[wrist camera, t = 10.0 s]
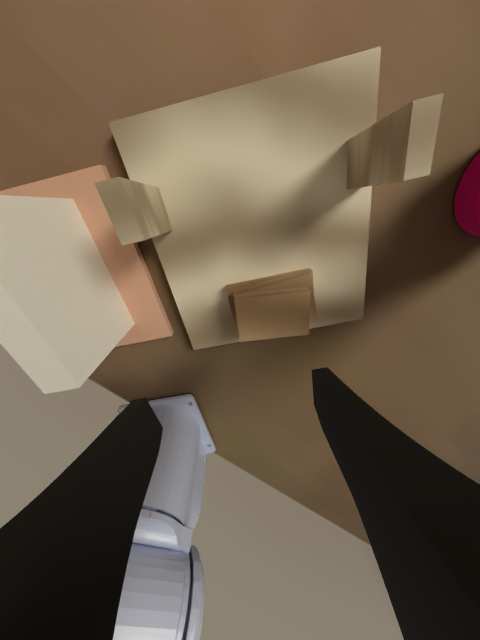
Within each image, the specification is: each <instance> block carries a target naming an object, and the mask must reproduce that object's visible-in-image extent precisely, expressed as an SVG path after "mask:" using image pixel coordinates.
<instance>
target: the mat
mask: <svg viewBox="0 0 480 640" xmlns="http://www.w3.org/2000/svg"><path fill="white" fill-rule="evenodd" d="M108 179H111V178H110V175H109V173H108V170H107V168H106V166H103V165H97V166H94V167H90V168H86V169H82V170H78V171H75V172H71V173H67V174H63V175H60V176H56V177H52V178H48V179H44V180H41V181H37V182H33V183H29V184H25V185H22V186H18V187H14V188H10V189H7V190H3V191H0V195H10V196H29V197H48V198H67V199H73V200H74V202H75V204H76V206H77V208H78V210H79V212H80V214H81V216H82V218H83V220H84V222H85V224H86V226H87V228H88V230H89V232H90V234H91V236H92V238H93V240H94V242H95V244H96V246H97V248H98V250H99V252H100V254H101V256H102V258H103V260H104V262H105V264H106V266H107V268H108V270H109V272H110V274H111V277H112V279H113V281H114V283H115V285H116V287H117V289H118V291H119V293H120V295H121V297H122V299H123V301H124V303H125V305H126V307H127V309H128V311H129V313H130V315H131V317H132V319H133V321H134V323H135V324H134V325H133V327H132V328H131V329H130V330H129V331H128V332H127V333H126V335H125V336H124V337H123V338H122V339H121V340H120V342H119V343H118V344H117V345H116V346H115V347H118V346H123V345H128V344H133V343H139V342H144V341H149V340H154V339H159V338H165V337H170V336H172V335H173V333H174V332H173V329H172V327H171V324H170V322H169V320H168V317H167V315H166V312H165V310H164V307H163V305H162V302H161V300H160V298H159V295H158V293H157V290H156V288H155V285H154V283H153V280H152V278H151V275H150V273H149V271H148V268H147V266H146V263H145V261H144V258H143V256H142V253H141V251H140V249H139V246H138V244H137V242H135V243H131V244H127V245H121V242H120V240H119V238H118V236H117V233H116V231H115V229H114V226H113V224H112V222H111V220H110V217H109V215H108V213H107V211H106V208H105V206H104V204H103V202H102V199H101V197H100V195H99V193H98V190H97V188H96V186H95V184H94V183H96V182H100V181H104V180H108Z"/></svg>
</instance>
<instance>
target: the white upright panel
mask: <svg viewBox="0 0 480 640" xmlns="http://www.w3.org/2000/svg"><path fill="white" fill-rule="evenodd" d="M134 324H135V323H134V321H133V319H132V317H131V315H130V313H129V311H128V309H127V307H126V305H125V303H124V301H123V299H122V297H121V295H120V293H119V291H118V289H117V287H116V285H115V283H114V281H113V279H112V277H111V274H110V272H109V270H108V268H107V266H106V264H105V262H104V260H103V258H102V256H101V254H100V252H99V250H98V248H97V246H96V244H95V242H94V240H93V238H92V236H91V234H90V232H89V230H88V228H87V226H86V224H85V222H84V220H83V218H82V216H81V214H80V212H79V210H78V208H77V206H76V204H75V202H74V200H73V199H67V198H48V197H29V196H10V195H0V343H1V345H2V346H3V347H4V348H5V349H6V350H7V352H8V353H9V354H10V355H11V356H12V357H13V358H14V359H15V361H16V362H17V363H18V364H19V365H20V366H21V368H22V369H23V370H24V371H25V372H26V373H27V375H28V376H29V377H30V378H31V379H32V380H33V381H34V383H35V384H36V385H37V386H38V387H39V388H40V390H41V391H42V392H43V393H44V394H48V393H54V392H59V391H65V390H70V389H76V388H80V387H81V385H82V384H83V383H84V382H85V381H86V380H87V379H88V377H89V376H90V375H91V374H92V373H93V372H94V370H95V369H96V368H97V367H98V366H99V365H100V364H101V362H102V361H103V360H104V359H105V358H106V357H107V355H108V354H109V353H110V352H111V351H112V350H113V349H114V347H115V346H116V345H117V344H118V343H119V342H120V340H121V339H122V338H123V337H124V336H125V335H126V333H127V332H128V331H129V330H130V329H131V328H132V327H133V325H134Z"/></svg>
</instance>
